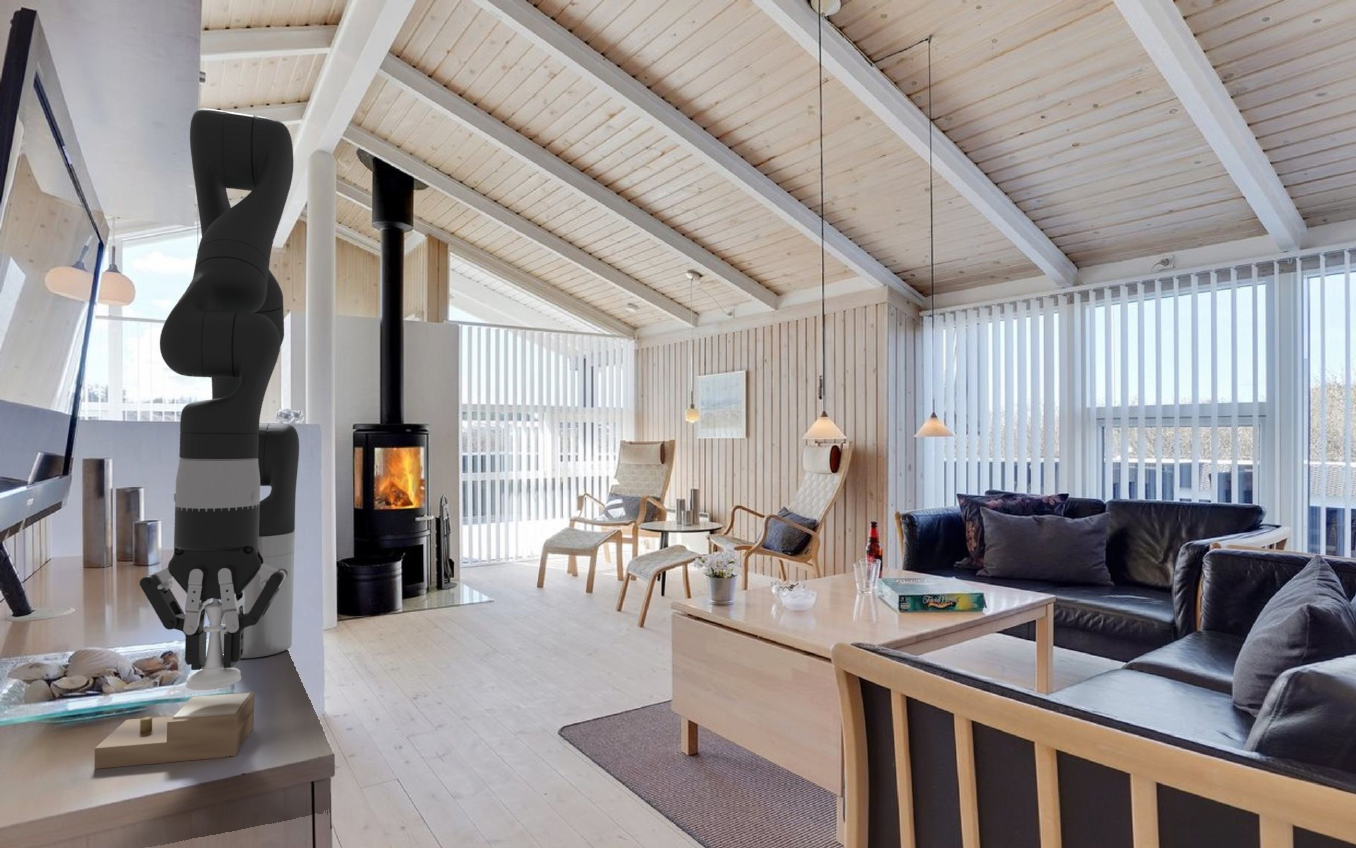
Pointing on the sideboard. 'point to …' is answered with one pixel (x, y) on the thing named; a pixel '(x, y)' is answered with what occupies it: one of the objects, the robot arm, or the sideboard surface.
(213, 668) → the chess piece
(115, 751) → the stepped wooden block
